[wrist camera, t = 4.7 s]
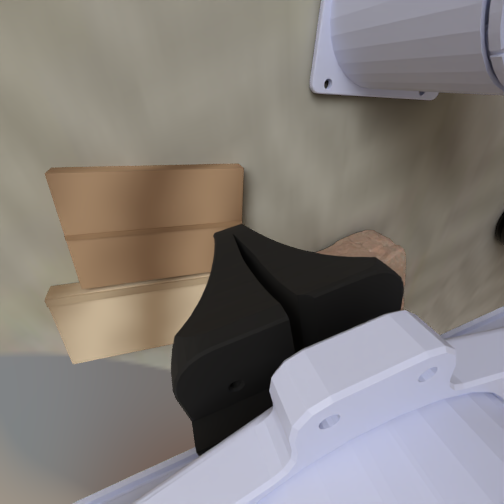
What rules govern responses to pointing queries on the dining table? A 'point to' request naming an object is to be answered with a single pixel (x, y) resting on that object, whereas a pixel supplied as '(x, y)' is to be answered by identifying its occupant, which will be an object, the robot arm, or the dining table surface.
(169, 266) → the plank
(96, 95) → the dining table surface
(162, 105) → the dining table surface
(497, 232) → the supplement container
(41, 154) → the dining table surface
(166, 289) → the floor strip
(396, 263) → the brick
